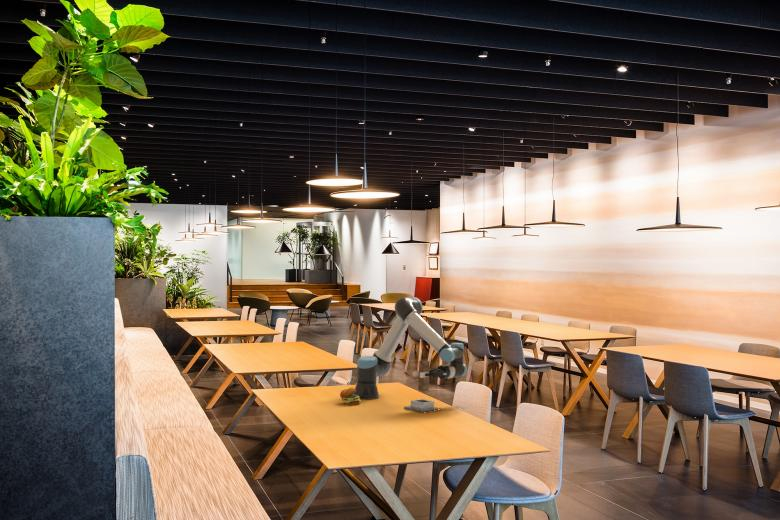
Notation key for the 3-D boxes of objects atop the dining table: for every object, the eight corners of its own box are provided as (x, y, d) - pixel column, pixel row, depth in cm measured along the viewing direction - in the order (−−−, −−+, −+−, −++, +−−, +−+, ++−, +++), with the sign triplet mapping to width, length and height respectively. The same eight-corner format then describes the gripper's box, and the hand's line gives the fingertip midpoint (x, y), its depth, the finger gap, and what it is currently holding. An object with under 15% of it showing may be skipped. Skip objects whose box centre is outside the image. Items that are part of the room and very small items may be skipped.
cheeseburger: (360, 405, 363) (357, 387, 363) (341, 409, 363) (337, 391, 363) (361, 402, 373) (358, 384, 373) (343, 405, 373) (339, 388, 374)
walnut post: (418, 390, 362) (419, 360, 362) (423, 389, 365) (424, 360, 365) (423, 391, 359) (424, 361, 360) (428, 390, 362) (429, 361, 362)
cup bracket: (404, 408, 362) (404, 400, 362) (421, 405, 372) (421, 397, 372) (423, 413, 352) (423, 404, 352) (440, 410, 362) (440, 401, 362)
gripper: (456, 380, 369) (428, 383, 352) (433, 376, 381) (405, 379, 364) (457, 366, 369) (429, 369, 352) (434, 363, 381) (405, 365, 365)
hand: (417, 374), depth 358 cm, fingers closed on walnut post, 4 cm apart
